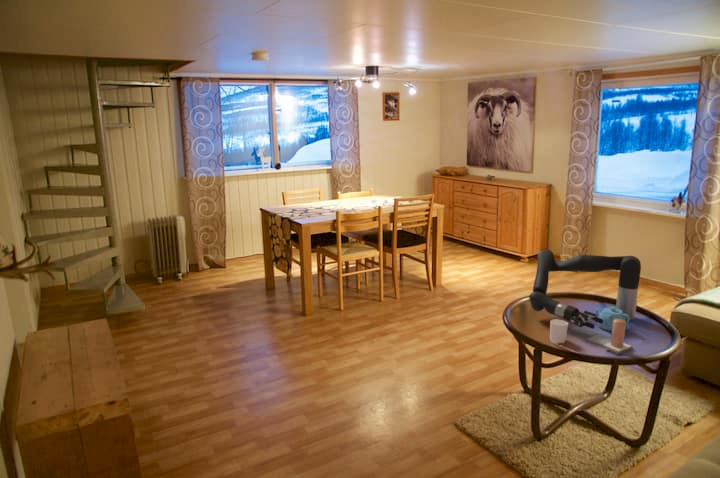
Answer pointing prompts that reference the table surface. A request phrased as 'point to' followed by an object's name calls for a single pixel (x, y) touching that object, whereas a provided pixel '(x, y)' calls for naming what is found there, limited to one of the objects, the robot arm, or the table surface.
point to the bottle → (618, 333)
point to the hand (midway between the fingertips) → (598, 324)
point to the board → (598, 340)
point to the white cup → (558, 331)
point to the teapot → (611, 317)
